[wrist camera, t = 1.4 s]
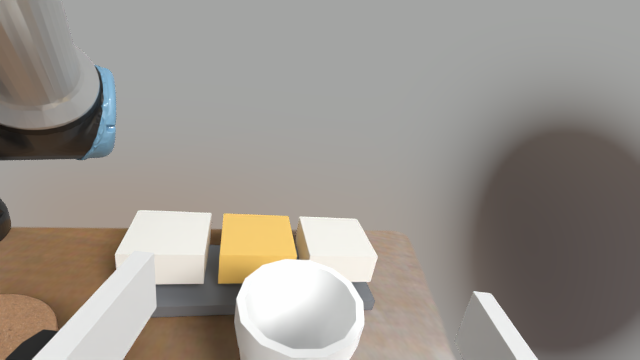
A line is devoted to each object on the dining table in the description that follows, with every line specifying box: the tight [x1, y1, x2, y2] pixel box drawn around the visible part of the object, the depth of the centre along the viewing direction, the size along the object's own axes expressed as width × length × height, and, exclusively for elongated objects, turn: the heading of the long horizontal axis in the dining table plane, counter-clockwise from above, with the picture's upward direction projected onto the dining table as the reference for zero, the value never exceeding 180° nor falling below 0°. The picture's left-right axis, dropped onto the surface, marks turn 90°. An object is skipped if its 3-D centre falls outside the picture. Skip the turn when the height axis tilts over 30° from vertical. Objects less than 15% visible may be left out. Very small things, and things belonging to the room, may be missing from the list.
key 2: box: [115, 210, 211, 284], centre depth 38 cm, size 8×8×4 cm
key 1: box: [295, 217, 378, 282], centre depth 44 cm, size 8×8×4 cm
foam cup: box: [234, 259, 364, 360], centre depth 27 cm, size 10×9×13 cm
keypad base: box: [151, 245, 375, 317], centre depth 43 cm, size 30×11×2 cm, turn 102°
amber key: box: [218, 214, 297, 284], centre depth 41 cm, size 8×8×4 cm
